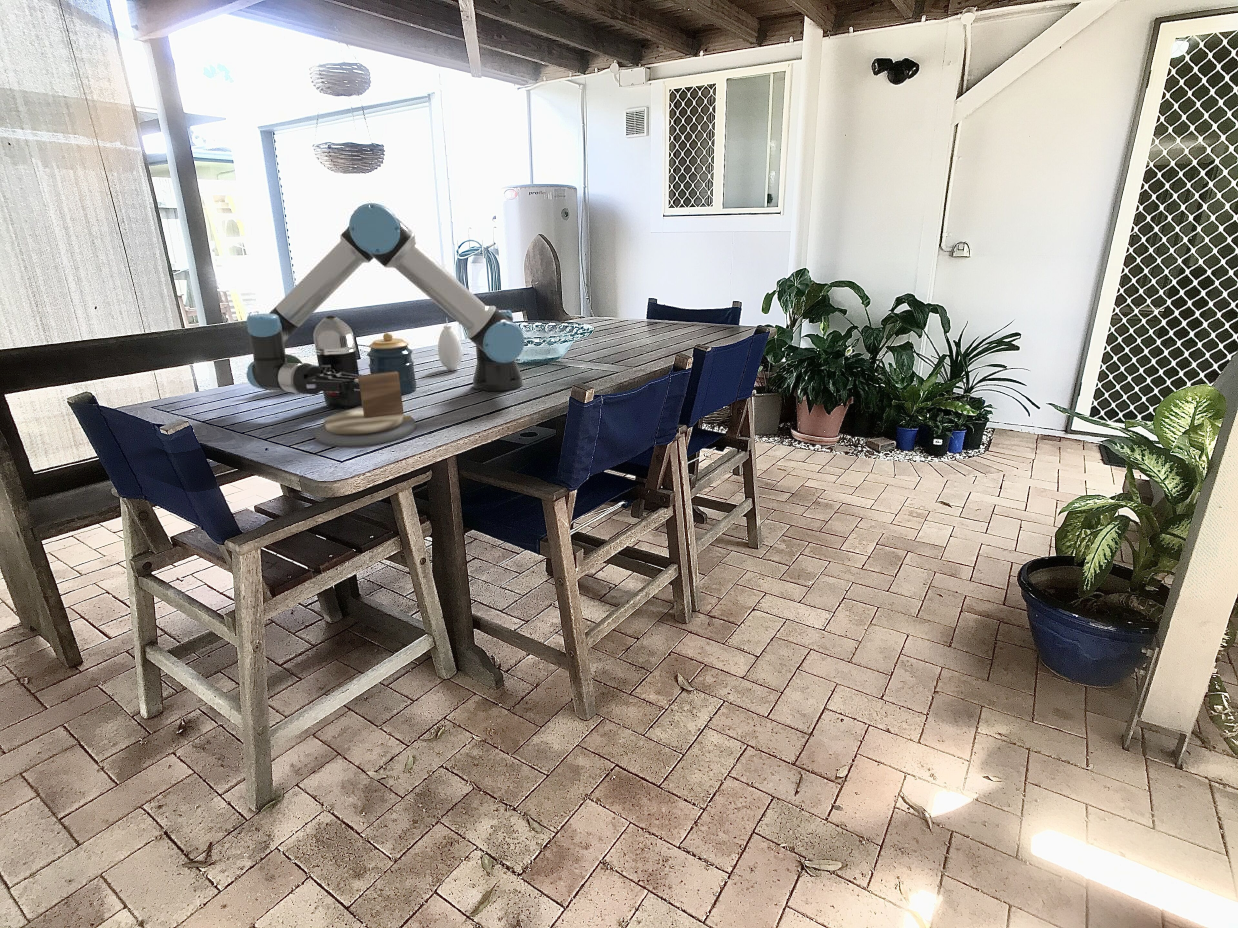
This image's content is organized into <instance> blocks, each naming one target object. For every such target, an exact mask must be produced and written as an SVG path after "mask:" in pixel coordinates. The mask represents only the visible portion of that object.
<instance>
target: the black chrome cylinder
mask: <svg viewBox="0 0 1238 928" xmlns="http://www.w3.org/2000/svg"><path fill="white" fill-rule="evenodd" d="M312 335H313V337H312V338H313V343H314V347H315V349H314V350H315V354H316V359H317V366H319V367H320V368H321V369H322V371H323V372H331V373H337V374H339V372H341V371H343V372H346V373H351V374H357V375H360V371H359V363H358V358H357V352H356V351H357V348H356V345H355V337H354V333H353V330H352V328H351V327H350V326H349V325H348V324H347V323H346V322H344V321H343V320H341V319H340V318H338V317H336V315H334V314H328V315H326V316H325V317H324V318H323V319H322V320H321V321H320V322H319V323H318V324H317V325H316V326H315V329H314V330H313V334H312ZM354 391H355V393H353V394H350V391H349V390H347V392H330V391H322V393H323V399H324V404H325V405H326V407H328V408H330V409H335V410H342V409H344V410H345V409H352V408H355V407H357V406H359V405H362V400H361V394H360V391H357V390H356V389H354Z"/></svg>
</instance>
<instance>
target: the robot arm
mask: <svg viewBox="0 0 1238 928" xmlns="http://www.w3.org/2000/svg"><path fill="white" fill-rule="evenodd" d="M374 259H375V260H376V261H377V262H378V264H379V263H380V265H382V266H383V267H384V268H386V269H387V268H388V269H389V268H390V269H391V268H393V269H395V270H396V271H398V272H399V273H400V274H401V275H402V276H404V277H405V278H406V279H407V280H408V281H409V282H410V283H412V284H413V285H414V286H415V287H416V288H418V289H419V290H420V292H422V293H424V295H426V296H427V297H428V298H429V299H430V300H432V302H434V303H435V304H436V305H437V306H438V307H439V308H440V309H441V310H443V311H445V313H446V314H448V316H450V317H451V318H453V320H454V321H456V322H457V323H458V324H459V325H460V326H462V327H463V328H464V329H465V331H466V337H467V338H468V340H470V342H472V343H473V344H475V351H476V352H475V353H476V366H475V370H474V375H473V379H472V384H473V389H475V390H479V391H484V392H485V391H486V392H500V391H501V392H503V391H510V390H514V389H518V388H520V387H522V386H523V385H524V384H523V377H522V374H521V371H520V368H519V366H518V364H517V361H516V360H517V358H519V356H520V355H521V354H522V353H523V351H524V348H525V336H524V333H523V330H522V329H521V327H520V326H519V325H518V324H517V323H516V322H514V317H513V313H512V311H511V310H510V309H507V310H500V309H499V308H497V307H496V306H495V305H486V304H485V302H484V303H483V302H482V301H481V299H479V298H478V297H477V296H476V295H475V294H473V293H472V292H471V291H470V290H469V289H468V288H467V287H466V286H465V285H464V284H462V282H460V281H459V280H458V279H457V278H456V277H455V276H453V275H452V273H450V272H449V271H448V270H447V269H446V268H444V267H443V266H442V265H441V264H440V263H439V262H438V261H437V260H435V259H434V257H432V256H431V255H430V254H429V253H428V252H427V251H425V249H423V248H422V247H421V246H420V245H419V244H418V243H417V241H416V236H415V232H413V231H412V230H411V229H410V228H409V227H408V226H407V225H405V224H404V223H403V222H402V221H401V220H400V219H399V218H398V217H397V216H396V215H395V214H394V213H393V211H392V210H390V208H387V207H386V206H385V205H382V204H379V203H375V202H374V203H372V202H369V203H364V204H362V205H360V206H358V207H357V208H356V209H355V210H354V211H353V213H352V214H351V215H350V218H349V224H348V226H347V228H345V230H344V231H343V232H342V233H341V234H340V241H339V242H338V243H336V245H335V246H334V247H333V248H332V249H331V250H330V251H329V252H328V253H327V254H326V255H325V256H324V257H323V258H322V259H321V260H320V261H319V262H318V263H317V264H316V265H315V266H314V267H313V268H312V269H311V270H310V271H309V272H308V273H307V274H306V275H305V276H304V277H303V278H302V279H301V281H300V282H298V283H297V284H296V285H295V286H294V288H292V290H290V292H288V293H287V294H286V296H285V297H284V298H282V300H280V301H279V303H277V305H275V307H274V308H272V309H271V311H269V313H255V314H250V315H248V316H247V318H246V325H247V329H246V330H247V332H248V336H249V337H248V338H249V341H250V346H251V350H252V356H253V361H251V362H250V363H249V364H248V366H247V369H246V370H247V371H246V373H245V374H246V378H247V381H248V383H249V384H250V385H251V386H252V387H254V388H256V389H260V390H265V391H272V392H273V391H275V392H287V393H294V394H295V395H297V396H298V395H299V394H305V395H318V394H319V393H321V392H323V391H330V392H347V390H349V391H350V394H353V393H355V391H354V389H356V390H357V391H360V387H359V381H358V375H357V374H351V373H346V372H343V371H341V372H339V374H337V373H331V372H323V371H322V369H321V368H320V367H318V366H319V365H314V364H312V365H308V364H309V363H308V364H298V363H287V359H286V353H287V352H286V348H285V342H286V341H287V340H288V339H289V338H290V337H291V336H292V335H293V334H294V333H295V332H296V331H297V330H298V329H299V328H300V327H301V326H302V325H303V323H304V322H305V321H306V320H307V319H309V318H310V317H311V315H313V314H314V312H315V311H316V310H318V309H319V307H320V306H321V305H322V304H324V302H326V301H327V300H328V299H329V298H330V296H332V295H333V294H334V293H335V292H336V291H337V289H339V287H341V286H342V284H344V282H346V280H348V279H349V278H350V276H351V275H353V274H354V272H355V271H356V270H358V268H359V267H360V266H362V265H363V264H364V263H368V264H369V263H371V261H372V260H374ZM359 375H362V374H360V373H359Z"/></svg>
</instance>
